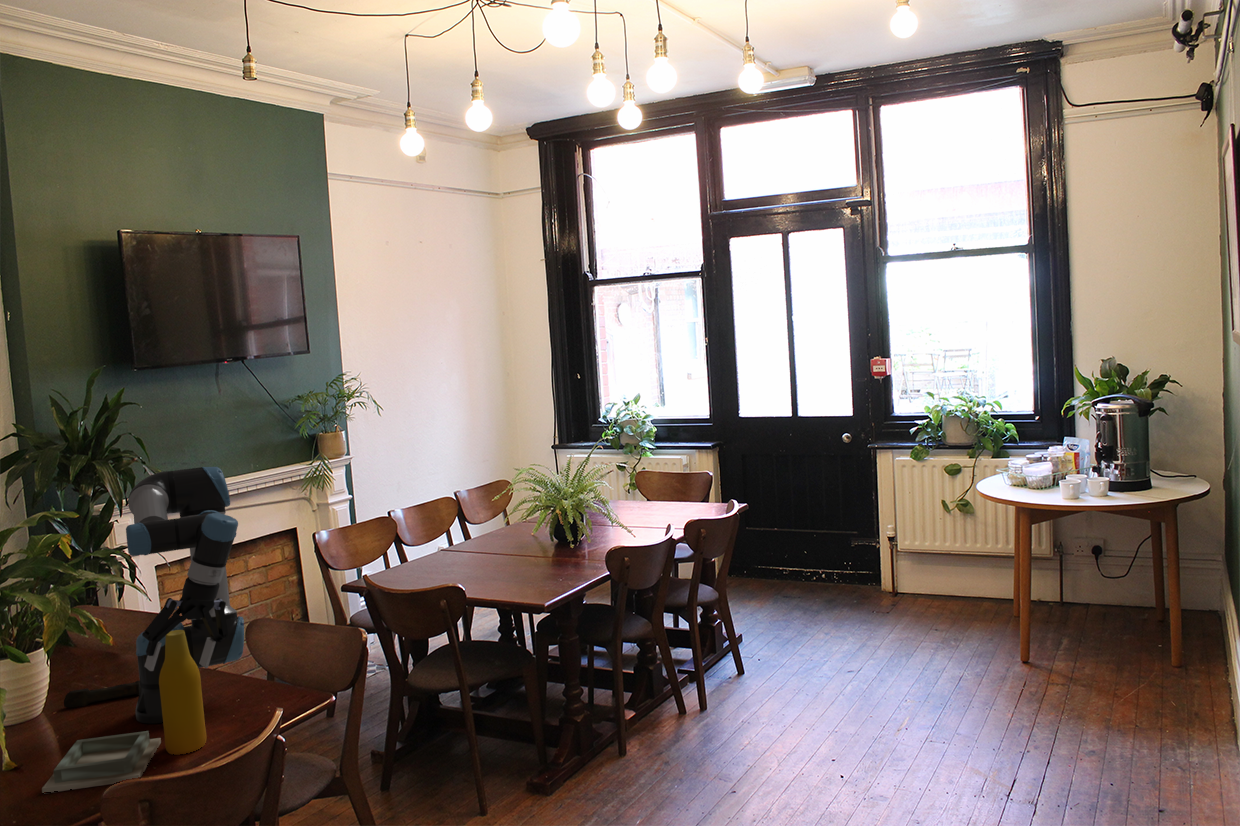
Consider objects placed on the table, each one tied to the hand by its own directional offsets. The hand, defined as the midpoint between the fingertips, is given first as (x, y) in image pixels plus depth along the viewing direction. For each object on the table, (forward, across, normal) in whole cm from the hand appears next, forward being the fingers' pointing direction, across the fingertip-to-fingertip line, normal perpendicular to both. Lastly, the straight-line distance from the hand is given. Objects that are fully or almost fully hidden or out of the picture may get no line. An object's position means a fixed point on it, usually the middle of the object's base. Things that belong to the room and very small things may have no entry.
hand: (176, 667), depth 220 cm
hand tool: (+33, +17, +52) cm, 64 cm away
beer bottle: (+23, +12, +4) cm, 26 cm away
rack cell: (+29, -3, +11) cm, 31 cm away
